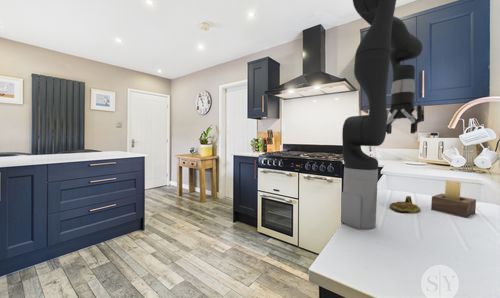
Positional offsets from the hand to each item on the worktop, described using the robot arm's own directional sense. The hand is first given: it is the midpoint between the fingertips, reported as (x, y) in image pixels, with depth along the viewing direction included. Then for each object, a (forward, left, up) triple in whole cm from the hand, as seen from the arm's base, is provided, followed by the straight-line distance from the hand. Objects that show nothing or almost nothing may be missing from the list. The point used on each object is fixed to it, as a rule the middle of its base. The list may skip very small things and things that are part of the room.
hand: (400, 133), depth 84 cm
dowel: (+9, -14, -28) cm, 32 cm away
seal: (-4, -4, -29) cm, 30 cm away
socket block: (+9, -14, -29) cm, 33 cm away
